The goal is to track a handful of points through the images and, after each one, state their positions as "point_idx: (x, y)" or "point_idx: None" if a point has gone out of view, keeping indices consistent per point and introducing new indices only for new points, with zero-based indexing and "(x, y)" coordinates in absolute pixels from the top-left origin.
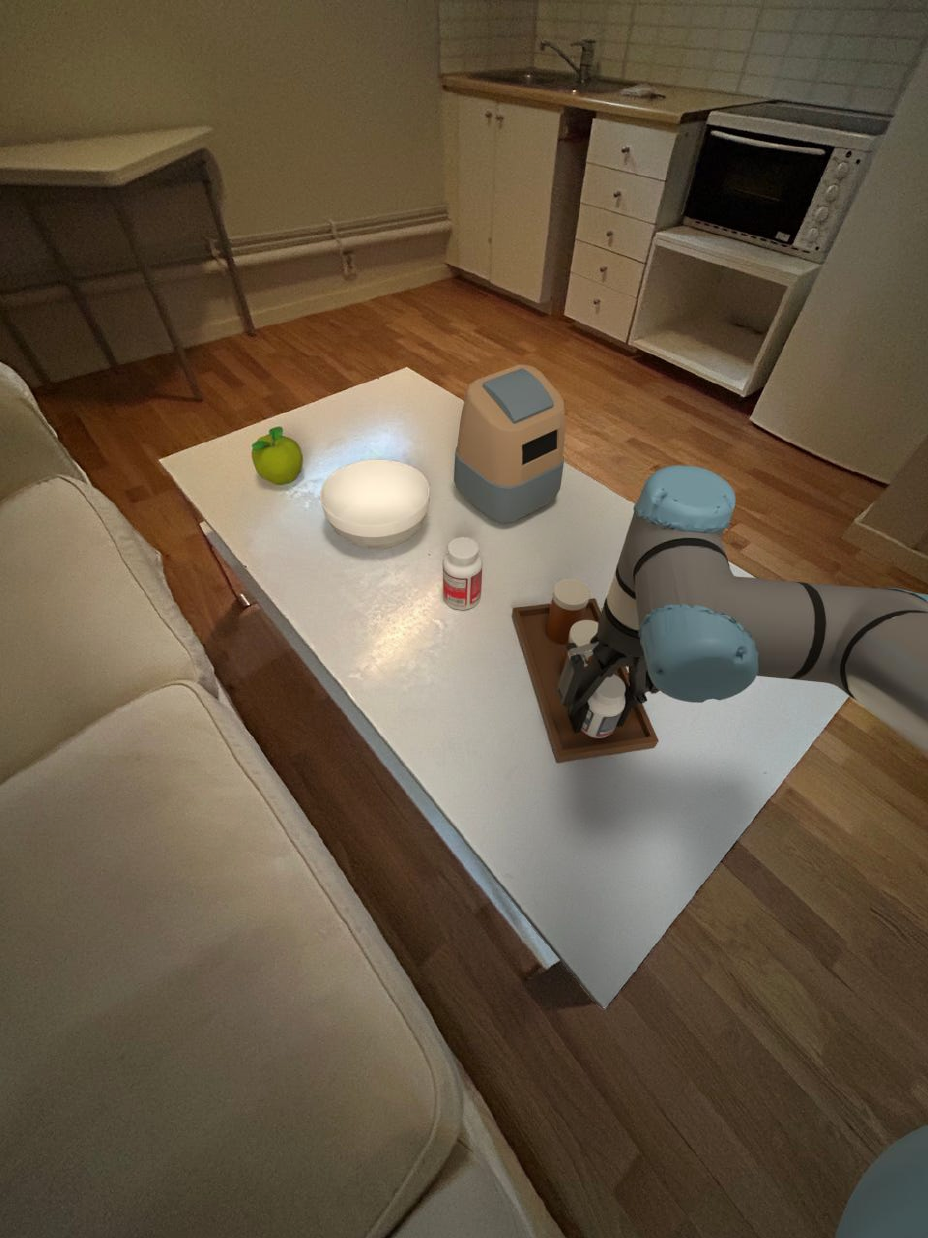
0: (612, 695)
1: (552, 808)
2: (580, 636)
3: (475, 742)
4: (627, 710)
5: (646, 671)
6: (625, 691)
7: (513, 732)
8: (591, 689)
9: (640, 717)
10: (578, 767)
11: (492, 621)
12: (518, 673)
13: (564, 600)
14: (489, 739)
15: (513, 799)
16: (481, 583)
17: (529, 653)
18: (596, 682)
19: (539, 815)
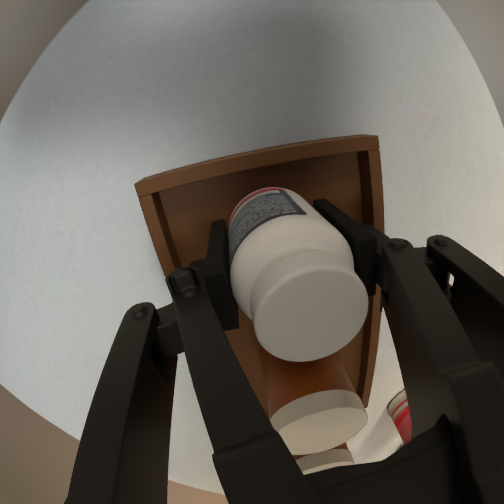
0: (314, 284)
1: (374, 52)
2: (345, 427)
3: (465, 187)
4: (216, 248)
5: (172, 379)
6: (232, 304)
7: (420, 203)
8: (428, 294)
9: (170, 244)
10: (320, 123)
11: (388, 381)
12: (384, 315)
13: (342, 464)
14: (451, 191)
15: (430, 81)
16: (400, 423)
17: (373, 352)
18: (449, 327)
19: (394, 46)
